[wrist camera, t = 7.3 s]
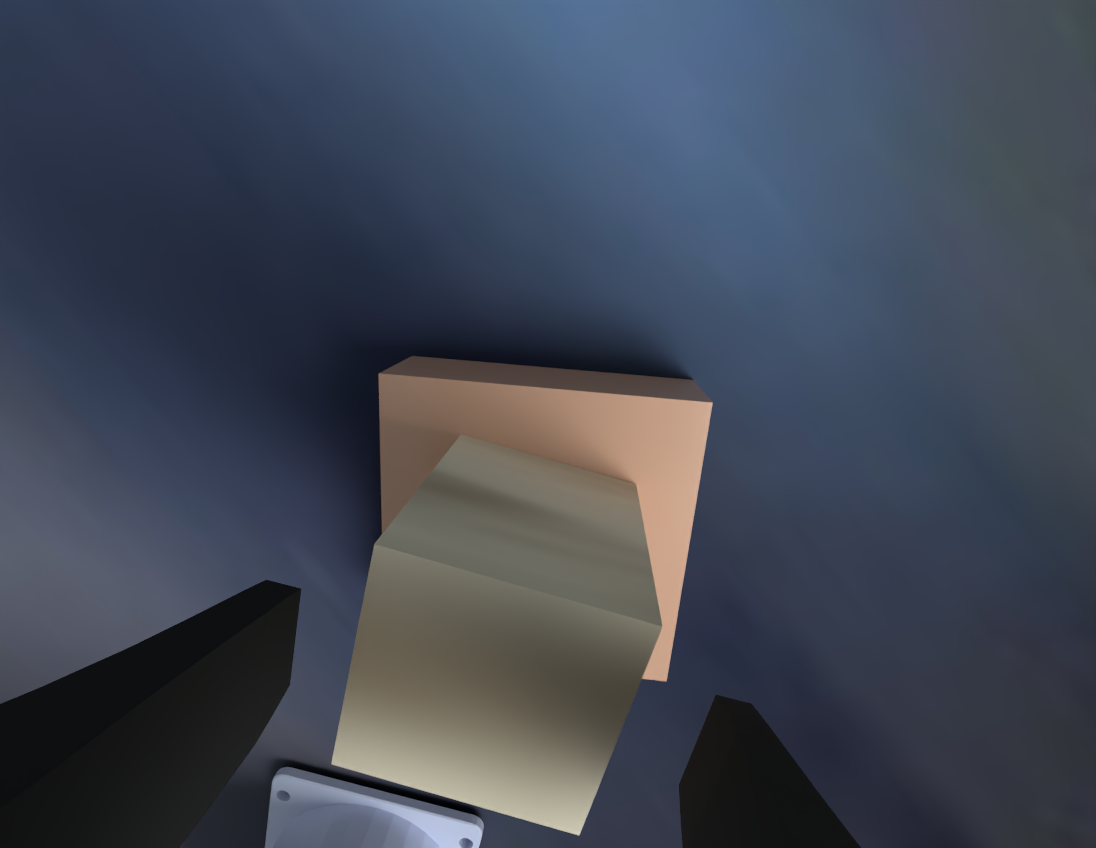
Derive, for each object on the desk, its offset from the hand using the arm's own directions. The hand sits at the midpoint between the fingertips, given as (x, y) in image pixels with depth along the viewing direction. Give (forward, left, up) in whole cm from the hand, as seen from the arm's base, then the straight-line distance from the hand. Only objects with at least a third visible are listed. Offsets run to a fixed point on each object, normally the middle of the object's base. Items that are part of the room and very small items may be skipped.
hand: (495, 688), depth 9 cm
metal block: (0, 0, -5) cm, 5 cm away
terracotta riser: (0, 0, -8) cm, 8 cm away
